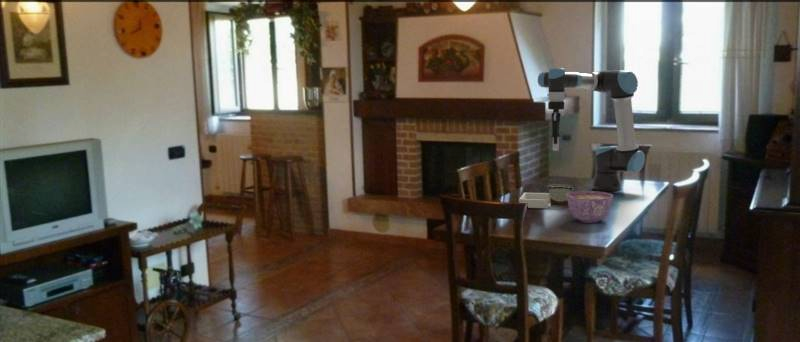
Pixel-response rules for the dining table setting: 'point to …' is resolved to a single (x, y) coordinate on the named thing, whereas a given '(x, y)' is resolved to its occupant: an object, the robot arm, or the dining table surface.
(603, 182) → the robot arm
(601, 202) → the bowl of food
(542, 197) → the frame
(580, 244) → the dining table surface
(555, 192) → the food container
